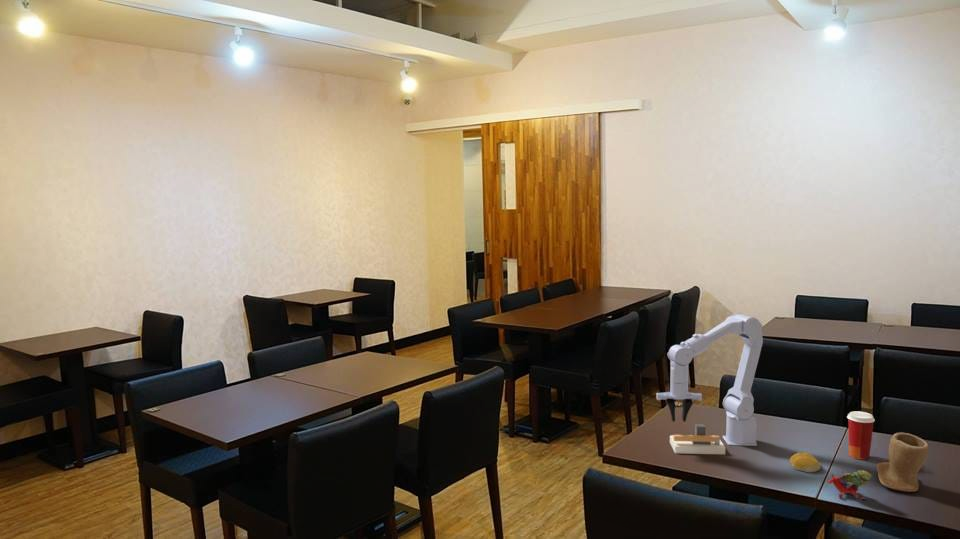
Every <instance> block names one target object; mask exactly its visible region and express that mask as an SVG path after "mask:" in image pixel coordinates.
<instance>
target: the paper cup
mask: <svg viewBox="0 0 960 539" xmlns="http://www.w3.org/2000/svg"><path fill="white" fill-rule="evenodd" d="M846 418H847V419H848V422H847V423H848V454H849V457H850V456H851V457H850V458H852V457H853V458H852V459H854V458H857V459H856V460H858V459H868V458H869V459H870V453H871V446H872V440H873V430H874V422H875V421H876V420H875V418H874V416H873V414H871V413H868V412H865V411H860V410H858V411H855V410H854V411H850V412H849V413H847V416H846ZM869 459H868V460H869Z"/></svg>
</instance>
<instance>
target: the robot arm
mask: <svg viewBox="0 0 960 539" xmlns="http://www.w3.org/2000/svg"><path fill="white" fill-rule="evenodd" d="M763 327H764V325H763V324H762V323H761V321H760V320H759V319H758V318H756V317H755V316H754V317H751V316H748V315H746V314H742V313H739V312H736V313H733V314H731V315H730V316H727V317H726V318H725V320H724V321H722V322H721V323H719V324H718V325H716V326H715V327H713V328H712V329H711V330H708V331H707V332H705V333H704V334H702V333H694V334H692V337H691V338H688V339H686V340H685V341H681V342H680V344H674V345H672V346H670V348H669V349H668V352H667V353H666V354H667V358H668V359H669V360H670V363H669V364H670V374H669V375H670V376H669V377H670V378H669V379H670V380H669V381H670V382H669V383H670V385H669V386H670V389H669V390H670V391H666V392H656V393H655V394H656V396H655V398H656V400H657V401H661V400H662V401H663V400H665V402H666V404H667V406H668V409H669V412H670V415H671V421H672V422H673V423H674V422H676V413H675V412H676V402H675V400H676V401H682V414H681V415H682V416H681V417H682V418H681V420H682V422H684V423H685V422H687V417H688V414H689V412H690V409H691V407H692V406H693V401H699V402H702V401H703V395H702V393H700V392H699V393H697V392H689V364H690V363H691V362H692V361H693V358H694V357H695V356H698V355H699V354H701V353H703V352H705V351H706V350H707V349H709V348H710V344H711V343H713V342H716V341H718V340H719V339H722V338H724V337H725V336H728V335H729V334H733V335H738V336H739V337H740V338H741V339H742V341H743V343H744V344H743V349H742V352H741V356H740V361H739V365H738V368H737V373H736V375H735V380H734V382H733V387H732V386H731V388H729V389H728V391H727V393H726V395H725V396H724V398H723V399H722V400H723V401H722V407H723V408H724V410H725V414H726V424H725V425H726V427H725V428H726V430H725V431H726V432H725V433H726V434H725V435H722V438H723V439H724V441H725V443H726V445H728V446H746V447H748V446H753V447H756V446H758V444H757V436H758V435H757V434H758V433H757V432H758V428H757V427H758V426H757V420H756V417H754V416H753V414H754V411H755V409H754V408H755V407H754V400H755V399H754V396H753V394H752V386H753V384H754V383H753V382H754V379H755V376H756V370H757V366H758V363H759V359H760V356H761V351H762V347H763V343H764V340H763V339H764V338H763V333H762V331H763Z"/></svg>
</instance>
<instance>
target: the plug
mask: <svg viewBox="0 0 960 539" xmlns="http://www.w3.org/2000/svg"><path fill="white" fill-rule="evenodd" d="M694 424H695V423H694ZM706 429H707V428H706V425H705V424H704V423H696V424H695V425H694V435H706ZM692 443H693V444H701V445H711V442H698V441H692Z"/></svg>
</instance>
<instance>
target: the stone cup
mask: <svg viewBox="0 0 960 539" xmlns="http://www.w3.org/2000/svg"><path fill="white" fill-rule="evenodd" d="M929 450H930V446H929V444H928V443H927V442H926V441H925V440H924V439H922V438H921V437H919V436H917V435H914V434H911V433H908V432H906V433H905V432H896V433H894V434H892V436H891V437H890V441H889V445H888V450H887V451H888V462H887V461H885V462H879V463H877V464H876V471H877V477H878V480H879V483H880V484H881V485H883V486H884V487H886V488H888V489H892V490H895V491H902V492H908V493H910V492H912V493H913V492H916V491H918V489H919V481H918V479H917V475H918V473H919V471H920V469H921V468H922V466H923V465H924V463H925V462H926V461H927V458H928V455H929Z"/></svg>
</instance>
